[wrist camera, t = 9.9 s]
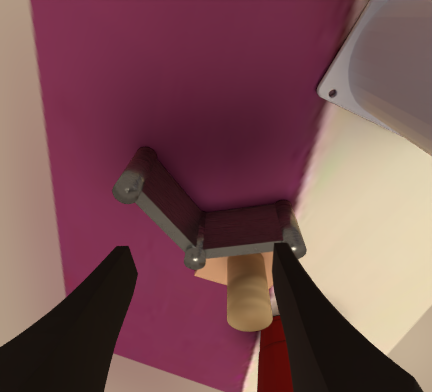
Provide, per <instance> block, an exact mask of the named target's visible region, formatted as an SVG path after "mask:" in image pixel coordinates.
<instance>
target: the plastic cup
mask: <svg viewBox="0 0 432 392" xmlns="http://www.w3.org/2000/svg"><path fill="white" fill-rule="evenodd" d="M257 392H293V385H292V378H291V370H290V363H289V357H288V350H287V344H286V339H285V334H284V330H283V326H282V322H281V318H280V315H279V316H275V317H273V320H272V323H271V324H270V325H269V326H268V327H266V328H264V329H262V330H261V338H260V352H259V362H258V385H257Z"/></svg>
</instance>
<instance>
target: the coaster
mask: <svg viewBox="0 0 432 392" xmlns="http://www.w3.org/2000/svg"><path fill="white" fill-rule="evenodd" d="M261 254H262V256H263V258H264V263H265V270H266V276H267V283H268V290H269V288H270V287H271V286H272V285H273V278H272V261H273V252H265V253H261ZM228 257H229V256H228ZM228 257H219V258H210V259H206V264H205V266H204V267H203V268H202V269H198V270H195V274H194V276H198V277H201V278H204V279H208V280H211V281H214V282H218V283H221V284H224V285H227V260H228Z"/></svg>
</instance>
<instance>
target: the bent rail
mask: <svg viewBox="0 0 432 392" xmlns="http://www.w3.org/2000/svg"><path fill="white" fill-rule="evenodd" d="M112 192H113V195H114V197H115V198H116V199H117V200H118V201H119V202H121V203H124V204H132V203H134V202H135V203H136V204H137V205H138V206H139V207H140V208H141V209H142V210H143V211H144V212H145V213H146V214H147V215H148V216H149V217H150V218H151V219H152V220H153V221H154V222H155V223H156V224H157V225H158V226H159V227H160V228H161V229H162V230H163V231H164V232H165V233H166V234H167V235H168V236H169V237H170V238H171V239H172V240H173V241H174V242H175V243H176V244H177V245H178V246H179V247H180V248H181V249H182V250H183V251H184V252H185V258H184V264H185V266H186V267H188V268H190V269H193V270H198V269H202V268H203V267H204V266H205V264H206V259H210V258H219V257H228V256H237V255H246V254H255V253H265V252H273V248H274V243H288V244H289V246H290V247H291V249H292V251H293V253H294V254H295V256H296V258H297V259H299V258H301V257H303V256H304V255H305V254H306V247H305V244H304V241H303V238H302V235H301V232H300V229H299V226H298V223H297V220H296V217H295V214H294V211H293V208H292V205H291V203H290V202H289V201H287V200H279V201H277V202H276V203H275V204H268V205H261V206H253V207H246V208H238V209H231V210H223V211H216V212H208V213H206V212H204V211H201V210H200V209H199V208H198V207H197V206H196V204H195V203H194V202H193V201H192V200H191V199H190V197H189V196H188V195H187V194H186V193H185V192H184V190H183V189H182V188H181V187H180V186H179V185H178V183H177V182H176V181H175V180H174V179H173V178H172V176H171V175H170V174H169V173H168V172H167V171H166V169H165V168H164V167H163V166H162V165H161V164H160V162H159V161H158V160H157V155H156V153H155V151H154V150H153V149H151V148H149V147H142V148H140V149H138V151H137V152H136V154H135V155H134V157H133V158H132V160H131V161H130V163H129V164H128V166H127V167H126V169H125V170H124V172H123V173H122V175H121V176H120V178H119V179H118V181H117V182H116V184H115V185H114V187H113V190H112Z"/></svg>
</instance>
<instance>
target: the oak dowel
mask: <svg viewBox="0 0 432 392" xmlns="http://www.w3.org/2000/svg"><path fill="white" fill-rule="evenodd" d="M272 320H273V317H272V310H271V303H270V297H269V290H268V283H267V276H266V270H265V263H264V258H263V256H262V254H261V253H255V254H246V255H237V256H229V257H228V260H227V321H228V323H229V324H230V325H231V326H232V327H233V328H235V329H237V330H241V331H248V332H252V331H259V330H262V329H264V328H266V327H268V326H269V325H270V324H271V323H272Z"/></svg>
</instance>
